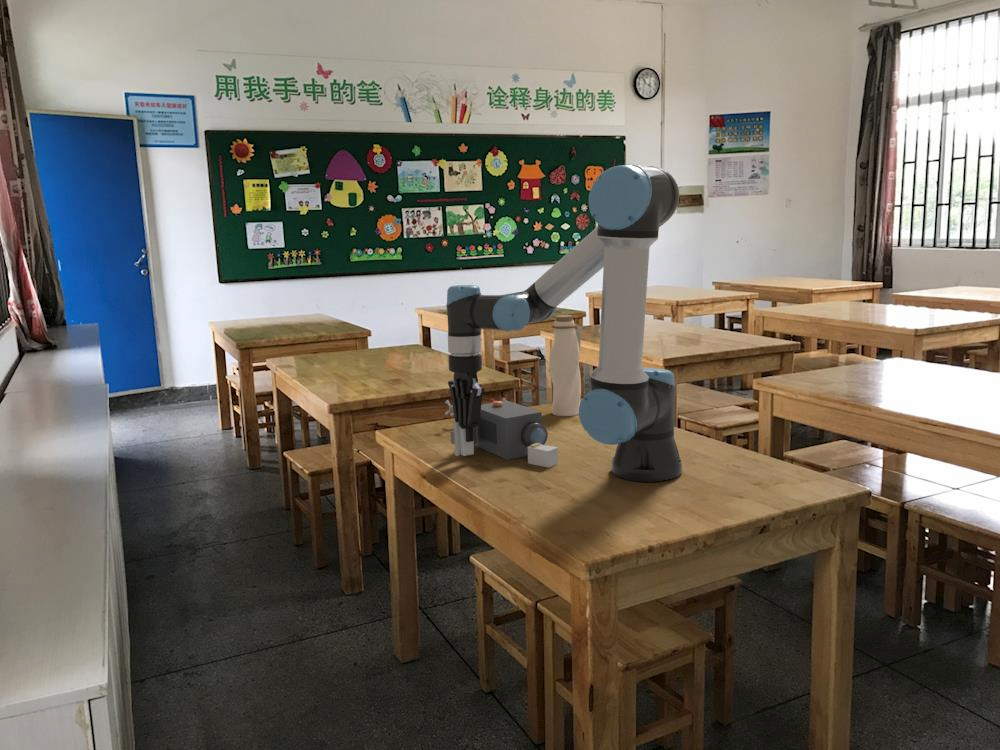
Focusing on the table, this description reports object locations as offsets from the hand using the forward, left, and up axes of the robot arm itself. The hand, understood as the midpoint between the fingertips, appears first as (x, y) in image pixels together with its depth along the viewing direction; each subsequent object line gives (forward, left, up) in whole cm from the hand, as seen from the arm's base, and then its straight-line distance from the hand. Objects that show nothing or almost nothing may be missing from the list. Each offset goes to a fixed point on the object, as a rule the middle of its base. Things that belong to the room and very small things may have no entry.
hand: (467, 454), depth 189 cm
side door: (+8, -3, -1) cm, 8 cm away
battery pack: (-11, -14, -2) cm, 18 cm away
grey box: (+3, -13, -2) cm, 14 cm away
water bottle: (+26, -47, -2) cm, 53 cm away
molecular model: (+24, -15, -2) cm, 28 cm away
